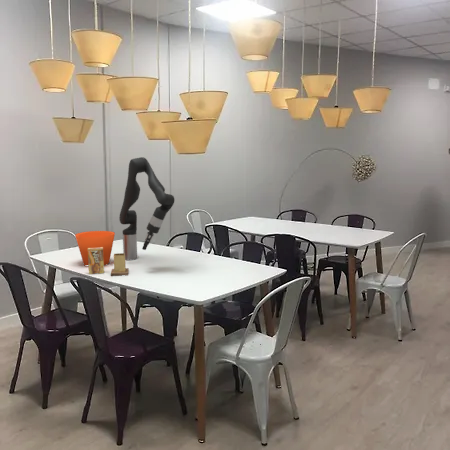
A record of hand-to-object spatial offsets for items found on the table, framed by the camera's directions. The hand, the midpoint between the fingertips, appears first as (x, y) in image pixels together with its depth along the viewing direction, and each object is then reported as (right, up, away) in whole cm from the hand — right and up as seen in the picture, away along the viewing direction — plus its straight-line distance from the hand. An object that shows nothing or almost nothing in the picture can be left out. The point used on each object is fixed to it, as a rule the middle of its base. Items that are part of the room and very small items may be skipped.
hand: (144, 247), depth 296 cm
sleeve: (-14, -14, -4) cm, 20 cm away
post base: (-14, -15, -4) cm, 21 cm away
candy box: (-28, -16, -3) cm, 32 cm away
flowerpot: (-35, -12, +22) cm, 43 cm away
